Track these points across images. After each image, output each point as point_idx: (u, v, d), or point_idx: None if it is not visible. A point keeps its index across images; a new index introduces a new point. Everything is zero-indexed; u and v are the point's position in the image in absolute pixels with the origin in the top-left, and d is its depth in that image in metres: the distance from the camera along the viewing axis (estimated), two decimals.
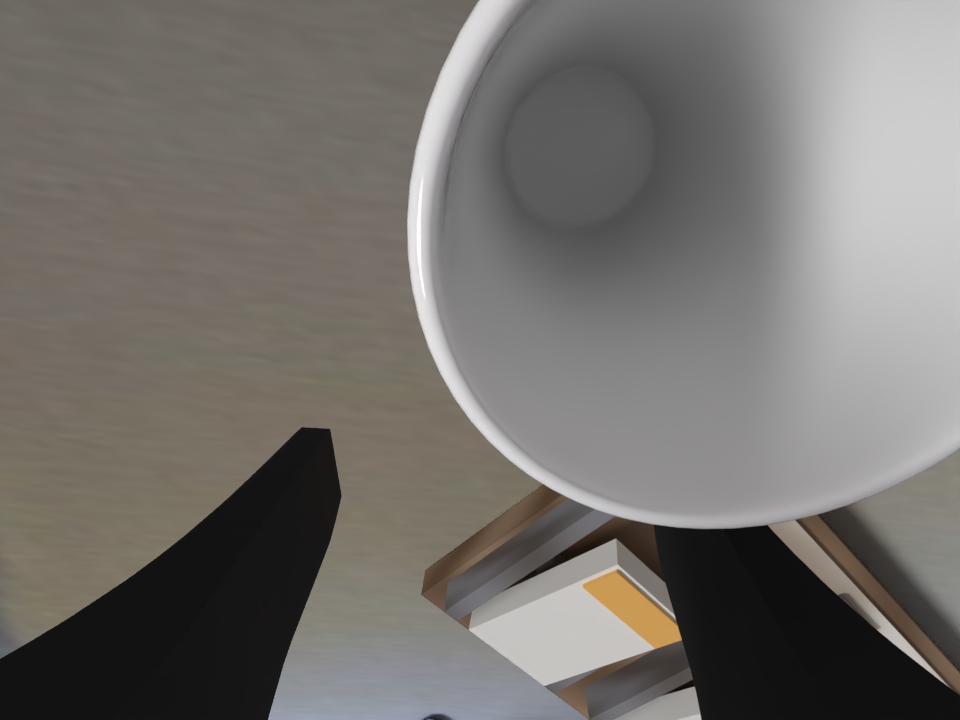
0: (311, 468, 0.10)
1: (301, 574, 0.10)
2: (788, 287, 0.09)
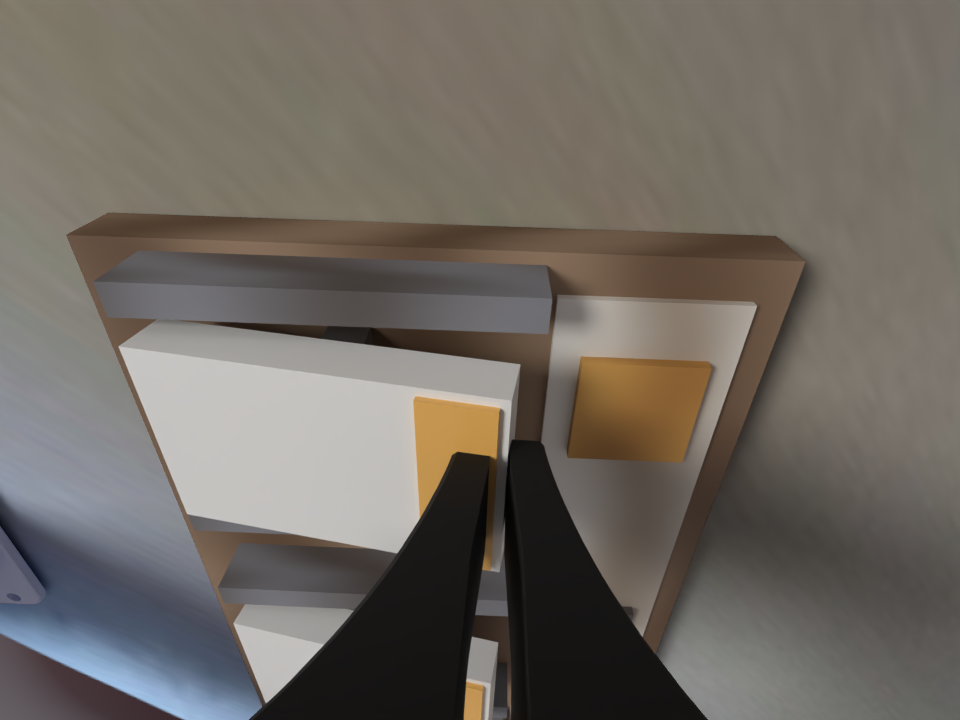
0: (487, 479, 0.10)
1: (476, 585, 0.10)
2: None
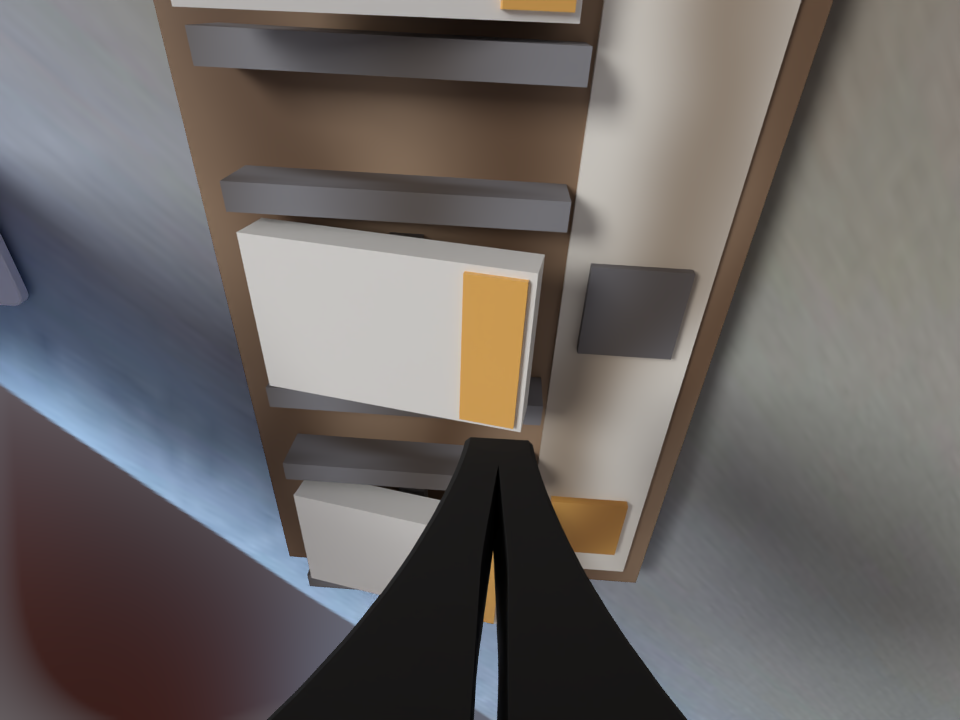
0: (497, 479, 0.10)
1: (485, 587, 0.10)
2: None
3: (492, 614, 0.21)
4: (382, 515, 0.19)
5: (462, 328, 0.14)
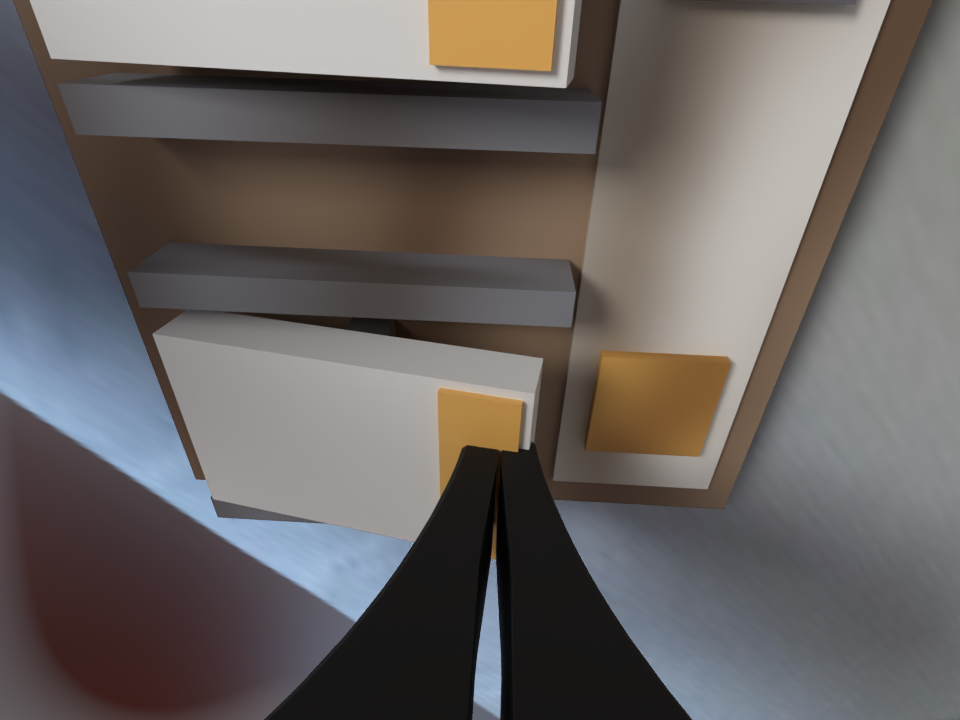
0: (495, 479, 0.10)
1: (484, 587, 0.10)
2: None
3: None
4: (304, 358, 0.11)
5: None
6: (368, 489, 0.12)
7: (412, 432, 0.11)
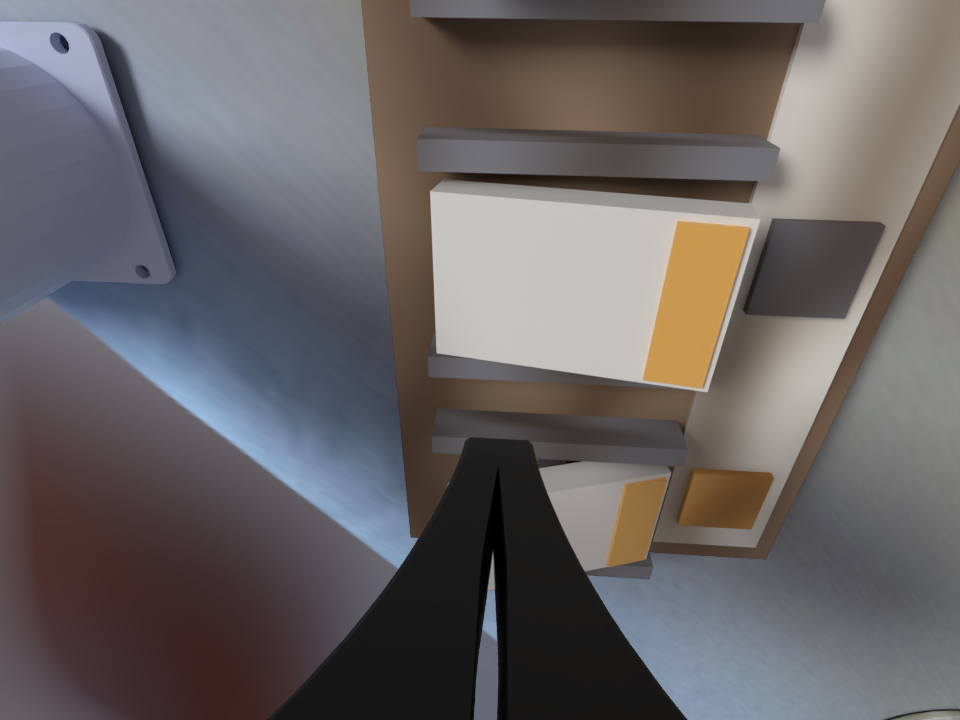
0: (496, 479, 0.10)
1: (485, 587, 0.10)
2: None
3: (645, 550, 0.22)
4: (551, 493, 0.19)
5: (664, 282, 0.14)
6: None
7: (604, 510, 0.20)
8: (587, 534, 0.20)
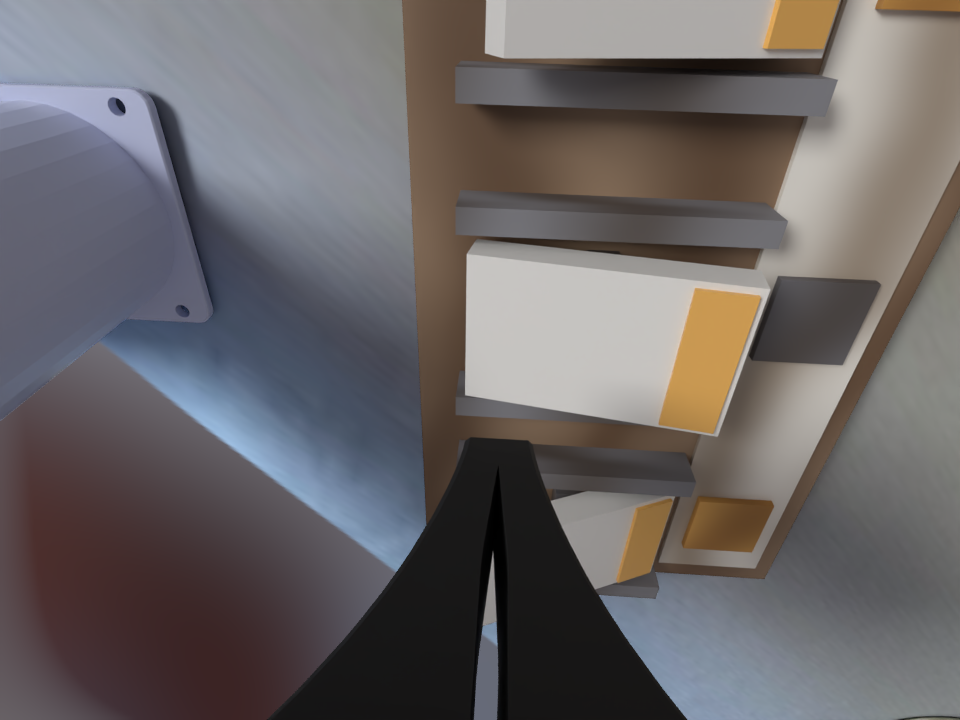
0: (497, 480, 0.10)
1: (485, 587, 0.10)
2: None
3: (650, 563, 0.23)
4: (572, 523, 0.20)
5: (681, 340, 0.15)
6: None
7: (616, 533, 0.21)
8: (601, 555, 0.22)
